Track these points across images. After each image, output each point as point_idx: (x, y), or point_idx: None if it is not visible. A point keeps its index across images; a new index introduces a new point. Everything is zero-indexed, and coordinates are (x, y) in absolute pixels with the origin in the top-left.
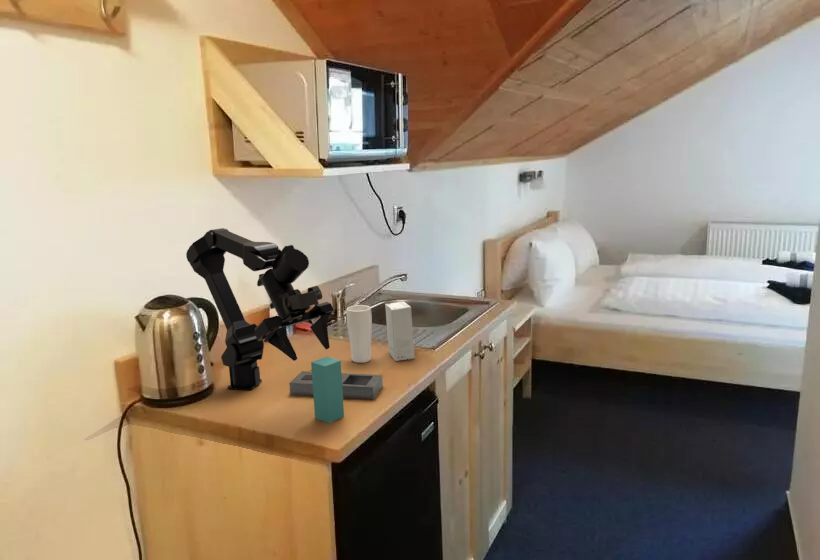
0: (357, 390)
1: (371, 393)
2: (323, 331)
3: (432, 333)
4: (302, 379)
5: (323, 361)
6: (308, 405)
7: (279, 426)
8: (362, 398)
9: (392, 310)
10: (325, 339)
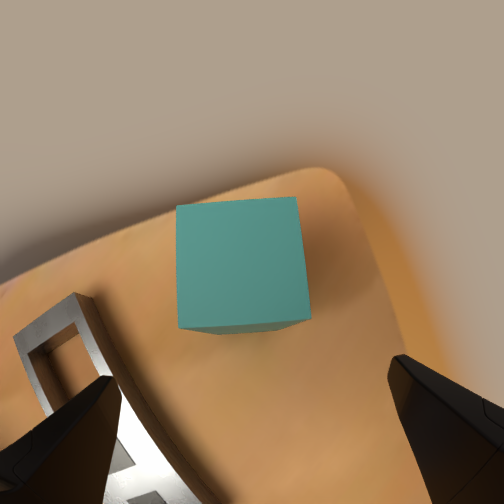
0: (100, 338)
1: (85, 300)
2: (51, 451)
3: None
4: None
5: (251, 268)
6: (235, 417)
7: (372, 356)
8: (104, 327)
9: None
10: (87, 411)
